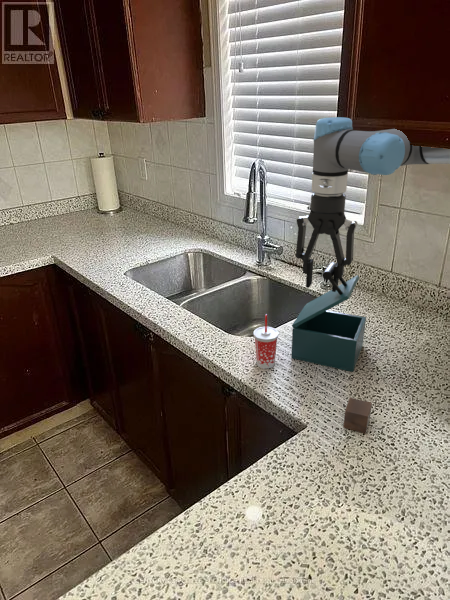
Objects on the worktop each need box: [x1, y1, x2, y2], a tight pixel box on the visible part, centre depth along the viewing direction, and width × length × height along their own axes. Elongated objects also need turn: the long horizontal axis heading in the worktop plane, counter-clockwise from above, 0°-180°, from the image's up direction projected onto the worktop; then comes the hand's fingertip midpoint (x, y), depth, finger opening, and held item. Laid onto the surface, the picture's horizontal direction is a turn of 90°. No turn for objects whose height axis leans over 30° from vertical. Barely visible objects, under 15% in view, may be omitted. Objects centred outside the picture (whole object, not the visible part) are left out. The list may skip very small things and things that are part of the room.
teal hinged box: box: [290, 310, 367, 373], centre depth 114 cm, size 16×13×9 cm
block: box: [342, 397, 373, 435], centre depth 91 cm, size 4×4×4 cm
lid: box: [291, 262, 360, 329], centre depth 110 cm, size 16×13×8 cm
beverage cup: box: [253, 313, 280, 370], centre depth 109 cm, size 6×6×14 cm
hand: (321, 287), depth 109 cm, fingers open, 6 cm apart
